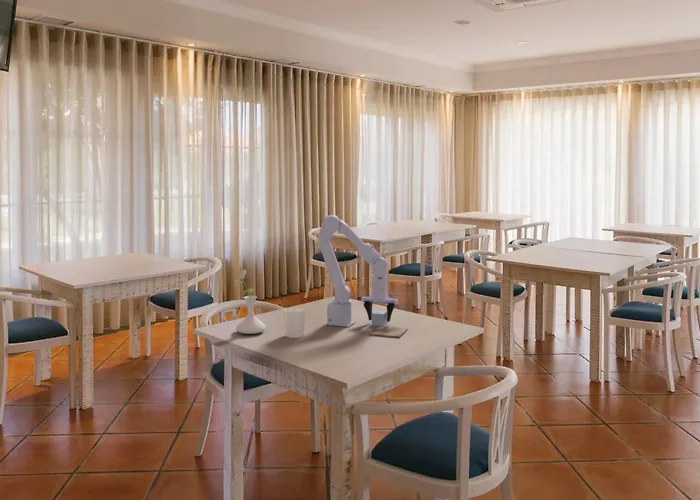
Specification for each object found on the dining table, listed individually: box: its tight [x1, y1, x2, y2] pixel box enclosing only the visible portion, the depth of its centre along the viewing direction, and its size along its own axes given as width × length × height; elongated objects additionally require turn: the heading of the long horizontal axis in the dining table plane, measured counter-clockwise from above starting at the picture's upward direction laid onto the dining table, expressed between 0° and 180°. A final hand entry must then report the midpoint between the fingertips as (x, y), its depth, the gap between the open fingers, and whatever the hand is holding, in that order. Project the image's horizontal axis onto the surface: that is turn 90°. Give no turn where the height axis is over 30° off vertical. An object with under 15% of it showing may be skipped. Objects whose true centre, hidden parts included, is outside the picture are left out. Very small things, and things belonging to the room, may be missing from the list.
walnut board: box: [368, 325, 409, 339], centre depth 242 cm, size 12×12×1 cm
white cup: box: [283, 307, 306, 339], centre depth 237 cm, size 8×8×10 cm
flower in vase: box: [233, 269, 267, 335], centre depth 240 cm, size 13×11×25 cm
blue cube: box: [371, 309, 388, 327], centre depth 254 cm, size 5×5×5 cm
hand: (379, 320), depth 254 cm, fingers open, 7 cm apart
